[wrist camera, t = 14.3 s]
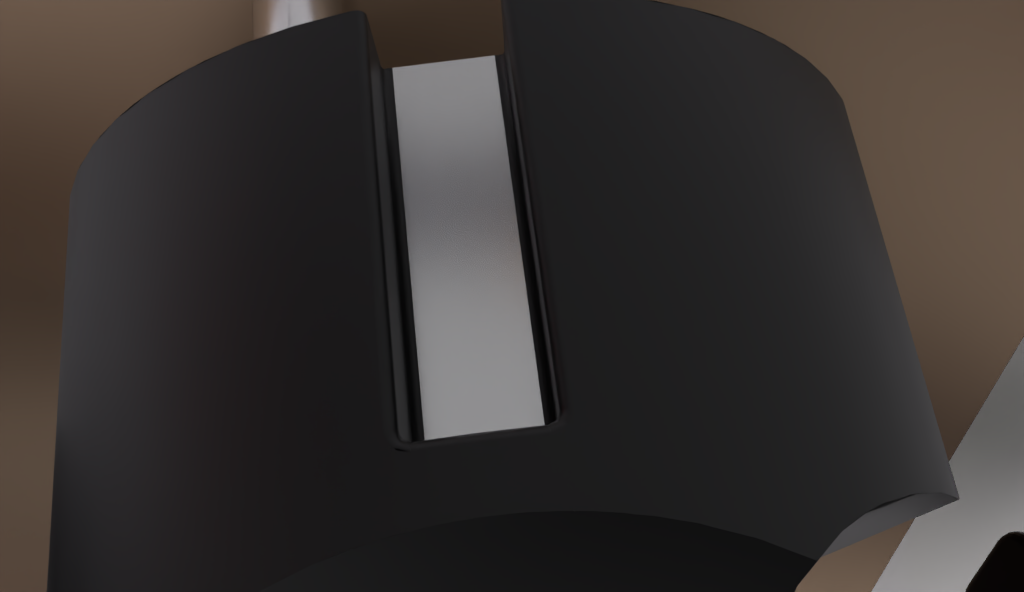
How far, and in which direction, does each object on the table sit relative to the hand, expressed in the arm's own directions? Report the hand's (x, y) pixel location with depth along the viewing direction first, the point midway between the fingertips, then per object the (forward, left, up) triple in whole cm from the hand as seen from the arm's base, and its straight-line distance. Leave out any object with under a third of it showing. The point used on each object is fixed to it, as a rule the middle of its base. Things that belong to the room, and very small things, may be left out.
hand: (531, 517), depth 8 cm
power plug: (-1, 0, -3) cm, 3 cm away
